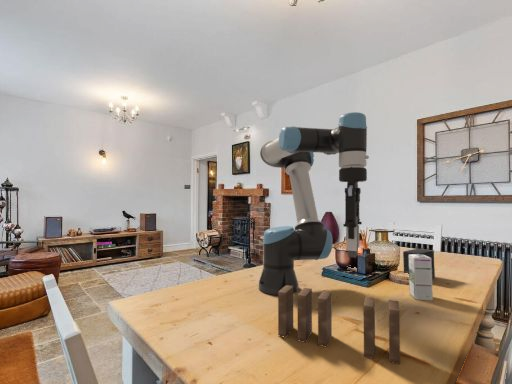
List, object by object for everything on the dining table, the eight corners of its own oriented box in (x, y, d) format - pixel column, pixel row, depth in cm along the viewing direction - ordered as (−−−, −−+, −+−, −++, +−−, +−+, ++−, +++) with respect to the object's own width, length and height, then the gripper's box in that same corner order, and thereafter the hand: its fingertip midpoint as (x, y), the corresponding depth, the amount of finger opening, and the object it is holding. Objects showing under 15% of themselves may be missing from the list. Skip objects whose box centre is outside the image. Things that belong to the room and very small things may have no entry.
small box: (418, 274, 126) (418, 248, 126) (435, 277, 120) (434, 250, 120) (403, 278, 119) (402, 250, 119) (419, 282, 113) (419, 253, 113)
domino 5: (363, 356, 60) (363, 305, 60) (365, 343, 65) (365, 296, 66) (373, 358, 59) (373, 306, 59) (375, 345, 64) (374, 297, 65)
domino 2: (297, 340, 66) (297, 294, 67) (304, 330, 72) (304, 287, 72) (305, 342, 66) (305, 296, 66) (311, 331, 71) (311, 288, 71)
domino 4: (348, 256, 76) (347, 217, 76) (350, 253, 82) (350, 216, 82) (355, 257, 75) (355, 217, 76) (357, 253, 81) (357, 216, 81)
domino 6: (389, 362, 58) (388, 309, 58) (389, 348, 63) (388, 299, 63) (400, 364, 57) (399, 310, 57) (399, 350, 62) (398, 301, 63)
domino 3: (318, 345, 64) (317, 298, 65) (323, 334, 70) (323, 290, 70) (326, 347, 63) (326, 299, 64) (331, 335, 69) (331, 291, 69)
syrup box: (433, 301, 92) (432, 257, 93) (414, 299, 94) (413, 257, 94) (426, 295, 98) (425, 254, 98) (408, 294, 99) (408, 253, 100)
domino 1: (278, 336, 69) (278, 291, 69) (286, 326, 74) (286, 285, 74) (285, 337, 68) (285, 292, 68) (293, 327, 73) (293, 286, 73)
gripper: (364, 163, 69) (364, 256, 68) (368, 170, 86) (369, 244, 85) (333, 165, 72) (333, 253, 72) (343, 171, 89) (344, 242, 89)
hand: (353, 248), depth 79 cm, fingers closed on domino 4, 6 cm apart
